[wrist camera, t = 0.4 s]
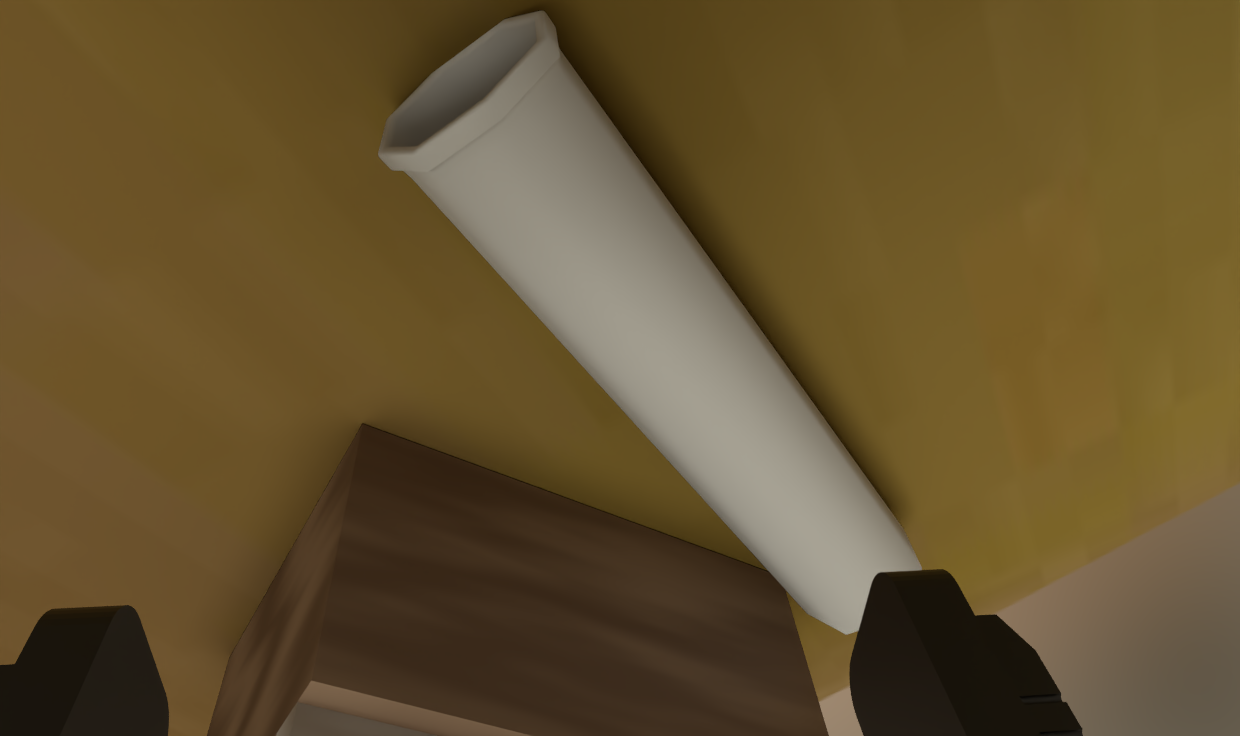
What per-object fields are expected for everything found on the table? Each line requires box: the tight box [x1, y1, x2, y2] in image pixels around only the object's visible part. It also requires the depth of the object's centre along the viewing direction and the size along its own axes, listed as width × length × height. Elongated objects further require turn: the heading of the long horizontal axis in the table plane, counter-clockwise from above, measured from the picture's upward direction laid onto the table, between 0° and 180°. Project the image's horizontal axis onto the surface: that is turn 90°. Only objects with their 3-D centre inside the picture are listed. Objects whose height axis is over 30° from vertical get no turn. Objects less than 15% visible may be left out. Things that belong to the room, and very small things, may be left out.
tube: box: [378, 11, 922, 635], centre depth 29 cm, size 5×5×25 cm
